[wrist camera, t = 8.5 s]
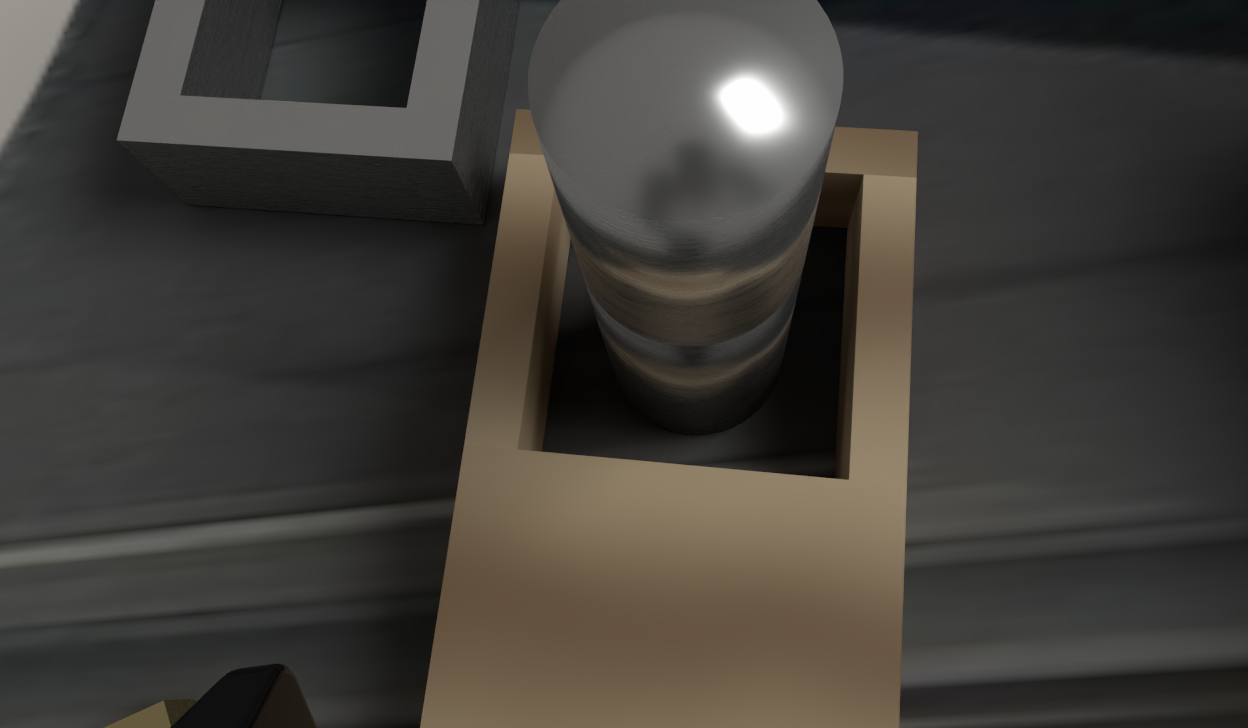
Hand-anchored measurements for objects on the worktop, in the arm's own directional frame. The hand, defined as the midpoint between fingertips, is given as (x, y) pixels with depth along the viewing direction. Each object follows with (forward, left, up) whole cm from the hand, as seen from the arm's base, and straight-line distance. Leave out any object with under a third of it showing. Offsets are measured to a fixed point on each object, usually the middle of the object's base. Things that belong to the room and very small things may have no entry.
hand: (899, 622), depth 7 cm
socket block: (+12, +11, -13) cm, 21 cm away
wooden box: (+3, +2, -13) cm, 14 cm away
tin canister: (+6, +2, -13) cm, 14 cm away
